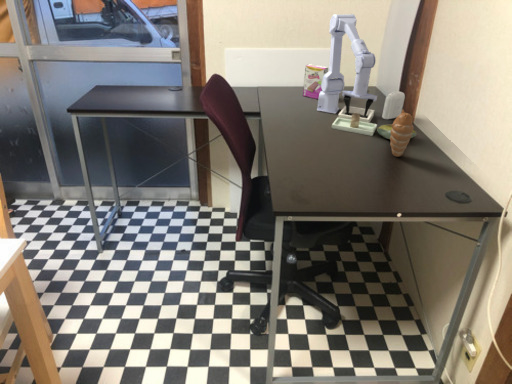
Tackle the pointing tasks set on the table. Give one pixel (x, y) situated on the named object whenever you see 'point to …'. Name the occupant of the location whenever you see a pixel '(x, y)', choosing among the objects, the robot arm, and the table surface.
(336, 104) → the robot arm
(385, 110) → the photo printer
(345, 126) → the tray
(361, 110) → the square open frame
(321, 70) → the candy bar box
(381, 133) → the cell model
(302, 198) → the table surface
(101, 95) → the table surface
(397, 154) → the tan ribbed oblong piece
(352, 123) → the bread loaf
